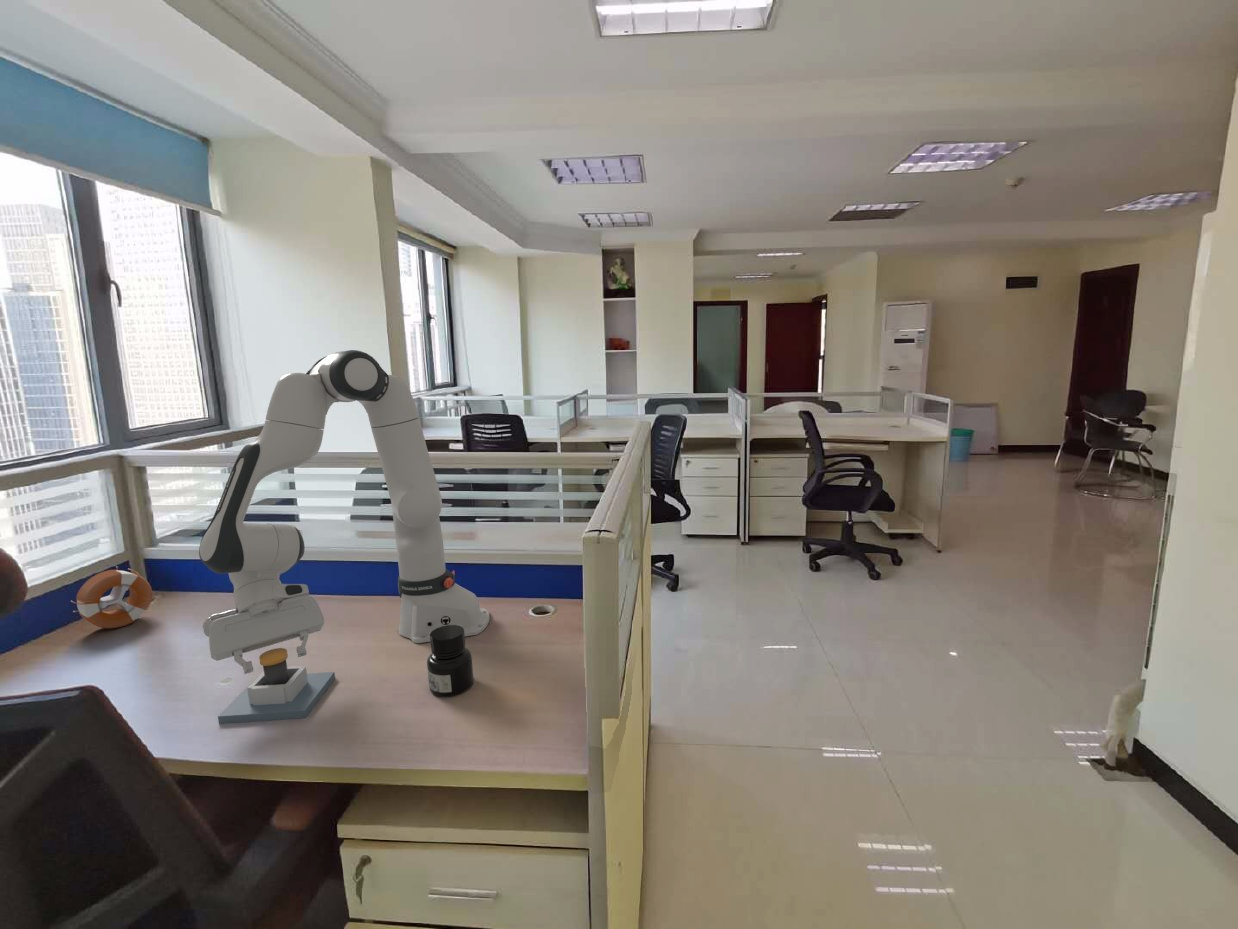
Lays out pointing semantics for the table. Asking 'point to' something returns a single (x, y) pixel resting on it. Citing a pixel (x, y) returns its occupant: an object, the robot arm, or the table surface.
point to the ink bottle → (449, 662)
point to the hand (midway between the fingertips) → (276, 663)
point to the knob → (275, 666)
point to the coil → (113, 598)
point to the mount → (278, 697)
